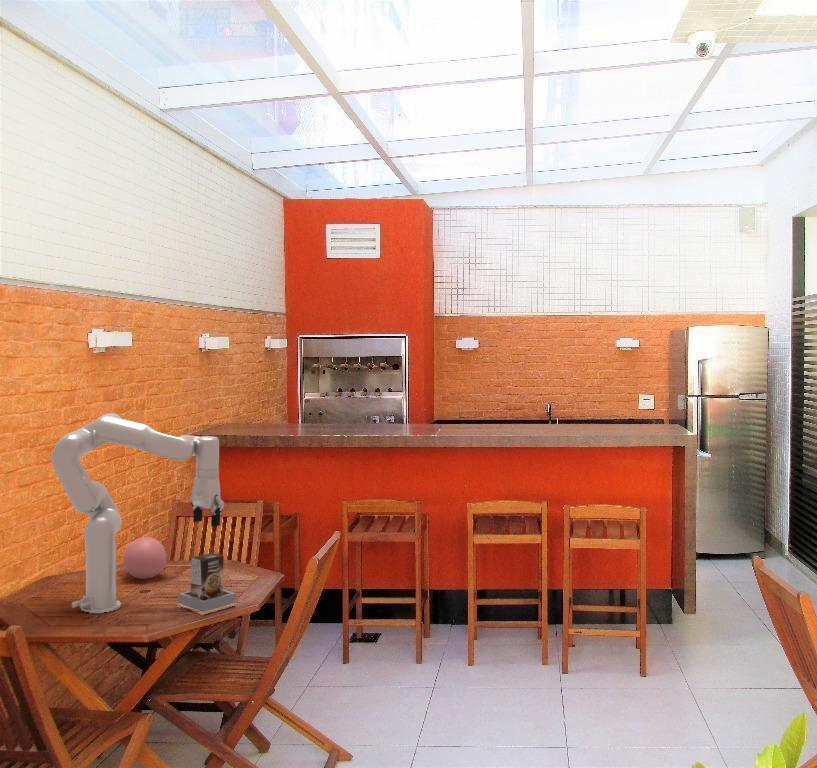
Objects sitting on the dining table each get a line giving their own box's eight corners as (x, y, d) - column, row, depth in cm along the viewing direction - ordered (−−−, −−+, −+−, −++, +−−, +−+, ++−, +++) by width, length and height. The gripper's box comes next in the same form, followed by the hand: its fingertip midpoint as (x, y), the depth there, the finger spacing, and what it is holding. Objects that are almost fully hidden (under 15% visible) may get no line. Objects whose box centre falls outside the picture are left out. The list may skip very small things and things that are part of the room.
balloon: (153, 567, 335) (153, 528, 334) (172, 580, 319) (172, 539, 318) (113, 573, 326) (113, 533, 325) (131, 586, 310) (131, 544, 309)
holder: (203, 615, 280) (203, 602, 280) (178, 606, 288) (178, 593, 288) (235, 606, 290) (235, 593, 290) (211, 597, 299) (211, 585, 298)
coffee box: (202, 608, 283) (202, 560, 282) (190, 604, 287) (190, 557, 286) (223, 602, 291) (224, 555, 290) (211, 598, 294) (212, 551, 294)
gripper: (182, 471, 290) (181, 521, 290) (214, 477, 278) (213, 529, 279) (200, 469, 295) (200, 518, 296) (232, 475, 284) (231, 526, 285)
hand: (206, 523), depth 288 cm, fingers open, 9 cm apart
